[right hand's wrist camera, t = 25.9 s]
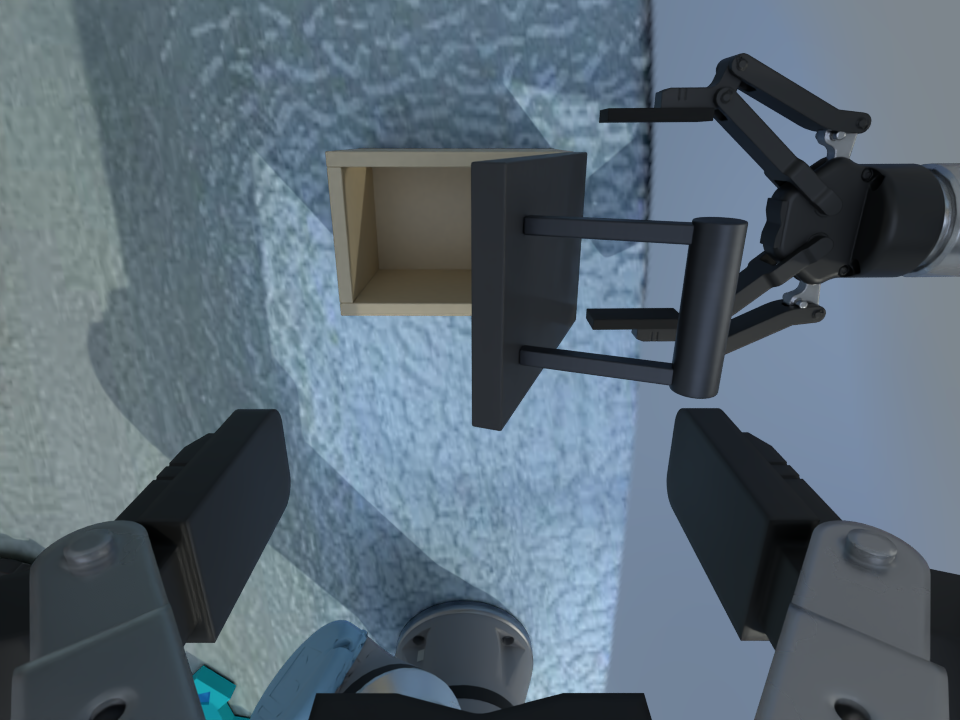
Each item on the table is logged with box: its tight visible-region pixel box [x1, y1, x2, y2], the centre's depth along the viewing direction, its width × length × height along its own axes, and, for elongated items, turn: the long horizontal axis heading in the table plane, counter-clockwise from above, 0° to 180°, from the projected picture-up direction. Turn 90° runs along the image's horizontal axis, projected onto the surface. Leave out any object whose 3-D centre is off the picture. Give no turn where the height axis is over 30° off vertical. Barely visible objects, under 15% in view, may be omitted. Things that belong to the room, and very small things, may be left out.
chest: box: [325, 148, 571, 316], centre depth 40 cm, size 15×10×11 cm
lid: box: [471, 152, 748, 431], centre depth 26 cm, size 16×10×9 cm
